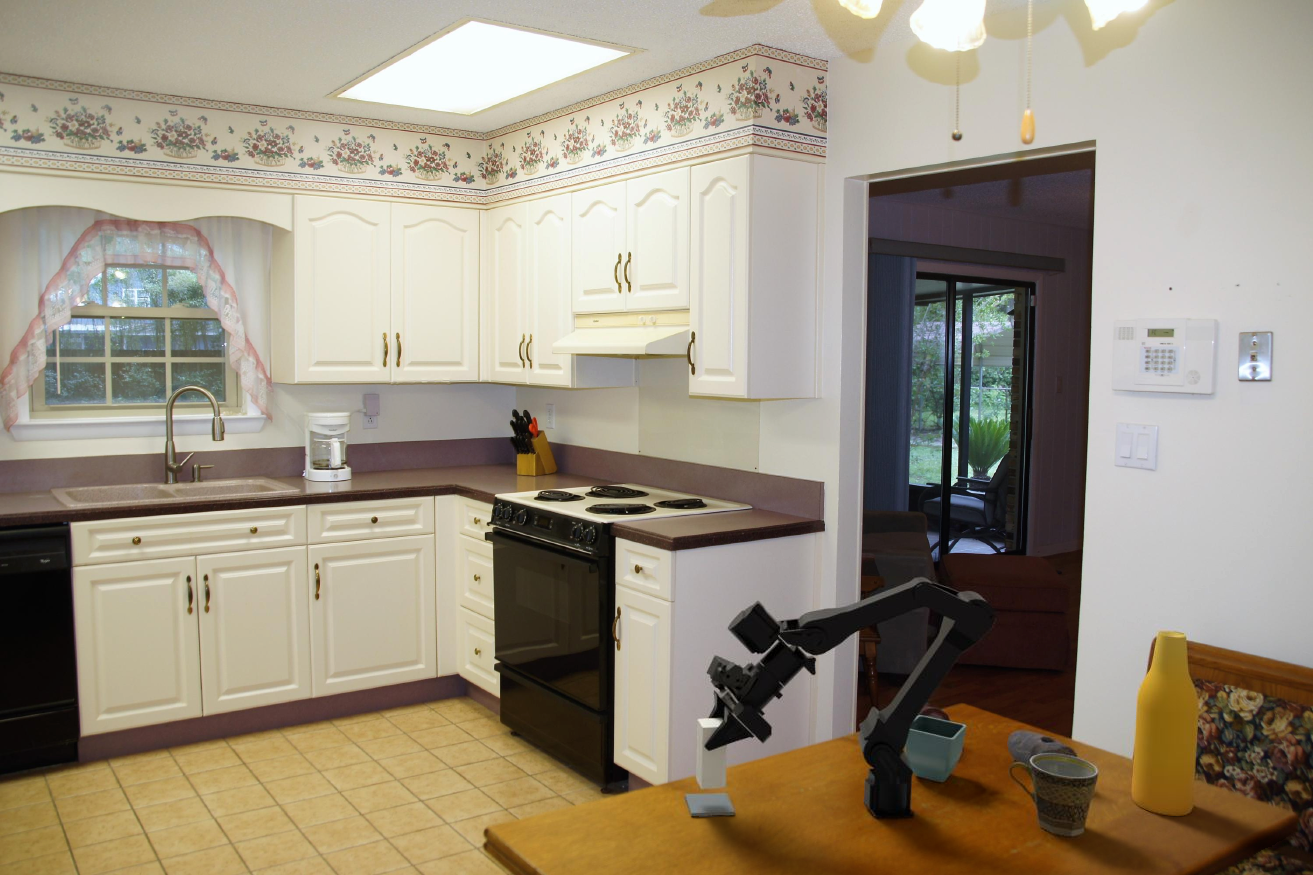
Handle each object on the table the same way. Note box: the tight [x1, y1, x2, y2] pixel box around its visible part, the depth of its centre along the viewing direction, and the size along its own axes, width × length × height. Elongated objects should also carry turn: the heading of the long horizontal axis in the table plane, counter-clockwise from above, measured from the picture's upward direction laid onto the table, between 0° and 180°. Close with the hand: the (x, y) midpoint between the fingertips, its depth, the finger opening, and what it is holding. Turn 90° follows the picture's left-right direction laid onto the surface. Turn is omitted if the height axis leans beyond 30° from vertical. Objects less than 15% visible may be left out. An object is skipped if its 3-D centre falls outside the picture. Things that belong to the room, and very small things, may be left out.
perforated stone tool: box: [1007, 730, 1078, 766], centre depth 177 cm, size 15×5×7 cm, turn 20°
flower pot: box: [904, 715, 967, 783], centre depth 174 cm, size 9×9×9 cm
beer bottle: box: [1131, 630, 1200, 817], centre depth 163 cm, size 9×9×29 cm
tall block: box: [695, 717, 728, 790], centre depth 158 cm, size 4×4×10 cm
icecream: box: [918, 702, 952, 722], centre depth 191 cm, size 7×7×15 cm
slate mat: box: [684, 792, 736, 817], centre depth 159 cm, size 7×7×1 cm
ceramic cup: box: [1008, 753, 1099, 837], centre depth 155 cm, size 13×10×10 cm
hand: (703, 743), depth 158 cm, fingers closed on tall block, 4 cm apart
